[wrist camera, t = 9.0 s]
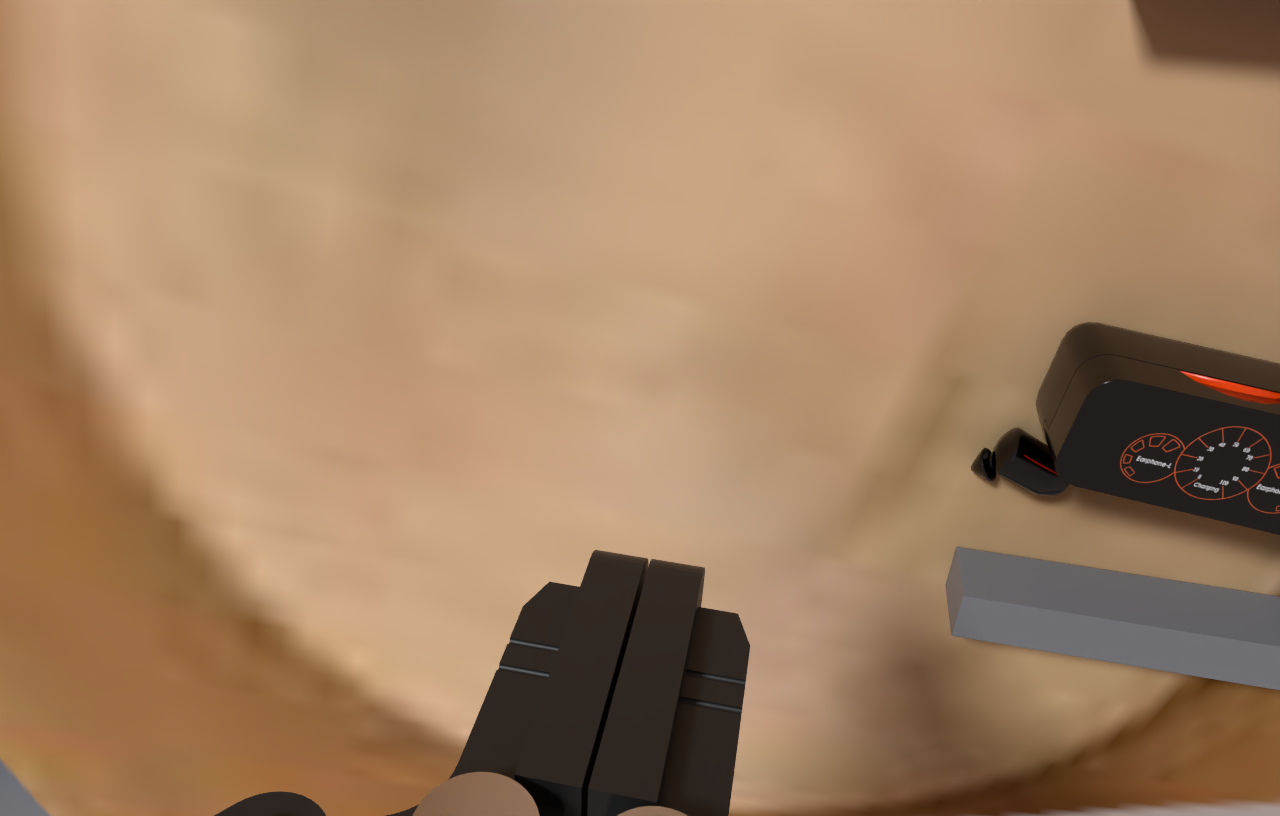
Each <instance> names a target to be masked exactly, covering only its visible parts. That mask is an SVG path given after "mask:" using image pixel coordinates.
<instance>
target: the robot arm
mask: <svg viewBox="0 0 1280 816" xmlns="http://www.w3.org/2000/svg"><path fill="white" fill-rule="evenodd" d="M704 575H705V568H703V567H697V566H691V565H685V564H679V563H673V562H667V561H661V560H655V559H652V560H651V561H650V564H649V567H648V559H647V558H641V557H635V556H629V555H623V554H617V553H611V552H605V551H599V550H595V551H594V552H593V553H592V555H591V558H590V561H589V564H588V566H587V569H586V572H585V575H584V578H583V581H582V583H581V586H580V587H577V586H571V585H565V584H559V583H554V582H549V583H548V584H547V585H546V586H544V587H543V588H542V589H541V590H540V591H539V592H538V593H537V594H536V595H535V596H534V597H533V598H532V599H531V600H529V601H528V602H527V603H526V604H525V605H524V606H523V608H522V610H521V613H520V615H519V618H518V620H517V622H516V625H515V627H514V630H513V632H512V634H511V637H510V642H509V644H507V647H506V649H505V651H504V654H503V656H502V659H501V661H500V665H499V669H498V670H497V671H496V673H495V675H494V678H493V680H492V683H491V685H490V688H489V690H488V692H487V695H486V697H485V700H484V702H483V704H482V707H481V709H480V712H479V714H478V717H477V719H476V721H475V724H474V726H473V729H472V731H471V733H470V736H469V738H468V741H467V743H466V746H465V748H464V750H463V753H462V755H461V758H460V760H459V762H458V765H457V766H456V768H455V770H454V772H453V774H452V775H451V777H450V778H449V779H448V780H446V781H445V782H443V783H441V784H440V785H438V786H436V787H435V788H434V789H433V790H432V791H430V792H429V793H428V794H427V795H426V796H425V797H424V799H423V800H422V801H421V802H420V804H419V805H417V806H415V807H412V808H410V809H408V810H406V811H402V812H399V813H396V814H392V815H387V816H728V814H729V807H730V799H731V791H732V783H733V776H734V768H735V760H736V752H737V744H738V737H739V729H740V721H741V713H742V705H743V698H744V690H745V682H746V674H747V666H748V659H749V651H750V644H749V642H748V639H747V637H746V634H745V631H744V629H743V626H742V623H741V621H740V618H739V615H738V614H736V613H730V612H725V611H719V610H713V609H707V608H701V602H702V593H703V584H704ZM215 816H326V815H325V813H324V812H323V810H322V809H321V808H320V807H319V805H317V804H316V803H315V802H313V801H312V800H311V799H309V798H307V797H304V796H302V795H299V794H295V793H291V792H268V793H263V794H258V795H255V796H252V797H249V798H246V799H244V800H242V801H240V802H238V803H236V804H234V805H232V806H231V807H229V808H227V809H225V810H223V811H222V812H220V813H218V814H216V815H215Z"/></svg>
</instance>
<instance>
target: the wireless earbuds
mask: <svg viewBox="0 0 1280 816" xmlns="http://www.w3.org/2000/svg"><path fill="white" fill-rule="evenodd" d="M1036 407H1037V412H1038V416H1039V419H1040V422H1041V425H1042V428H1043V431H1044V435H1045V438H1046V441H1047V444H1048V445H1046V444H1044V443H1043V442H1041V441H1039V440H1038V439H1036V438H1034V437H1033V436H1031V435H1030V434H1028V433H1027V432H1025V431H1023V430H1022V429H1020V428H1018V427H1017V428H1013V429H1011V430H1010V431H1008V432H1007V433H1005V434H1004V435H1003V436H1002V437H1001V438H1000V440H999V441H998V442H997V444H996V446H995V447H994V450H993V453H991V451H990V450H989V449H988V448H984V449H983V450H982V451H981V452H980V453H979V454H978V456H977V457H976V459H975V460H974V462H973V464H972V466H971V470H972V471H973V472H974V473H975V474H977V475H979V476H981V477H982V478H984V479H987V480H989V481H994V480H995V478H996V473H997V474H998V475H1000V476H1002V477H1004V478H1006V479H1007V480H1009V481H1011V482H1013V483H1015V484H1016V485H1018V486H1020V487H1021V488H1023V489H1025V490H1026V491H1028V492H1029V493H1031V494H1034V495H1038V496H1057V495H1059V494H1060V493H1062V492H1063V491H1064V490H1065V489H1066V488H1067V487H1068V484H1071V485H1073V486H1076V487H1081V488H1085V489H1089V490H1093V491H1097V492H1102V493H1106V494H1110V495H1114V496H1118V497H1123V498H1127V499H1131V500H1135V501H1139V502H1144V503H1148V504H1152V505H1156V506H1160V507H1165V508H1169V509H1173V510H1177V511H1181V512H1186V513H1190V514H1194V515H1198V516H1202V517H1207V518H1211V519H1215V520H1219V521H1223V522H1228V523H1232V524H1236V525H1240V526H1244V527H1249V528H1253V529H1257V530H1261V531H1265V532H1270V533H1274V534H1278V535H1280V364H1279V363H1274V362H1270V361H1265V360H1261V359H1256V358H1252V357H1247V356H1243V355H1239V354H1234V353H1230V352H1225V351H1221V350H1216V349H1212V348H1207V347H1203V346H1199V345H1194V344H1190V343H1185V342H1181V341H1176V340H1172V339H1167V338H1163V337H1159V336H1154V335H1150V334H1145V333H1141V332H1136V331H1132V330H1127V329H1123V328H1119V327H1114V326H1110V325H1105V324H1101V323H1091V322H1088V323H1082V324H1079V325H1077V326H1074V327H1073V328H1072V329H1071V330H1069V331H1068V332H1067V333H1066V335H1065V336H1064V338H1063V339H1062V341H1061V344H1060V346H1059V348H1058V350H1057V352H1056V355H1055V357H1054V359H1053V361H1052V363H1051V366H1050V368H1049V370H1048V372H1047V374H1046V377H1045V379H1044V381H1043V383H1042V386H1041V388H1040V390H1039V392H1038V395H1037V399H1036Z"/></svg>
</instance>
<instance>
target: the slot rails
mask: <svg viewBox="0 0 1280 816" xmlns="http://www.w3.org/2000/svg"><path fill="white" fill-rule="evenodd" d="M946 593H947V602H948V610H949V618H950V627H951V635H952V636H957V637H963V638H969V639H975V640H981V641H987V642H993V643H999V644H1005V645H1011V646H1017V647H1023V648H1029V649H1035V650H1041V651H1047V652H1053V653H1059V654H1065V655H1071V656H1077V657H1083V658H1089V659H1095V660H1101V661H1107V662H1113V663H1119V664H1125V665H1131V666H1137V667H1143V668H1149V669H1155V670H1161V671H1167V672H1173V673H1180V674H1186V675H1192V676H1198V677H1204V678H1210V679H1216V680H1222V681H1228V682H1234V683H1240V684H1246V685H1252V686H1258V687H1264V688H1270V689H1276V690H1280V597H1278V596H1272V595H1265V594H1259V593H1252V592H1246V591H1239V590H1233V589H1226V588H1220V587H1213V586H1207V585H1200V584H1194V583H1187V582H1181V581H1174V580H1168V579H1161V578H1155V577H1148V576H1142V575H1135V574H1129V573H1122V572H1116V571H1109V570H1103V569H1096V568H1090V567H1083V566H1077V565H1070V564H1064V563H1057V562H1051V561H1044V560H1038V559H1031V558H1025V557H1018V556H1012V555H1005V554H999V553H992V552H986V551H979V550H973V549H966V548H960V547H956V550H955V554H954V558H953V561H952V565H951V568H950V572H949V575H948V579H947V582H946Z"/></svg>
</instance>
